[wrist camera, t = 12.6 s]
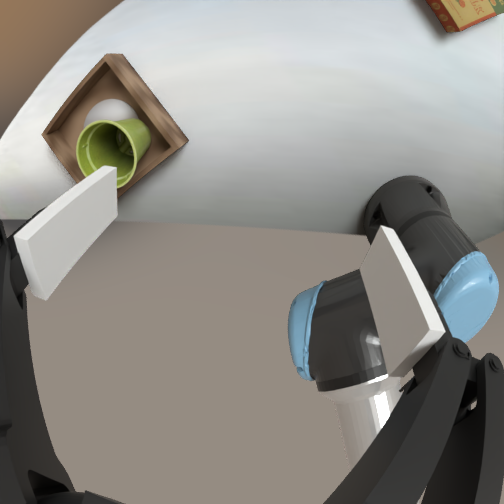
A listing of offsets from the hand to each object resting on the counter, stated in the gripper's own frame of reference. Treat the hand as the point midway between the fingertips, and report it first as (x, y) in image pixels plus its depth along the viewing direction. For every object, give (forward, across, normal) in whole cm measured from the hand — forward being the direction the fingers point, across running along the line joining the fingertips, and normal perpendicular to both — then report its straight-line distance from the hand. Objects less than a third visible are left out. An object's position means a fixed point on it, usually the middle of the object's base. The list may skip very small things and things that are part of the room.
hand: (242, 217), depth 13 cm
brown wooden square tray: (+29, +23, +5) cm, 37 cm away
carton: (+29, -24, -32) cm, 50 cm away
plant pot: (+28, +19, +5) cm, 34 cm away
